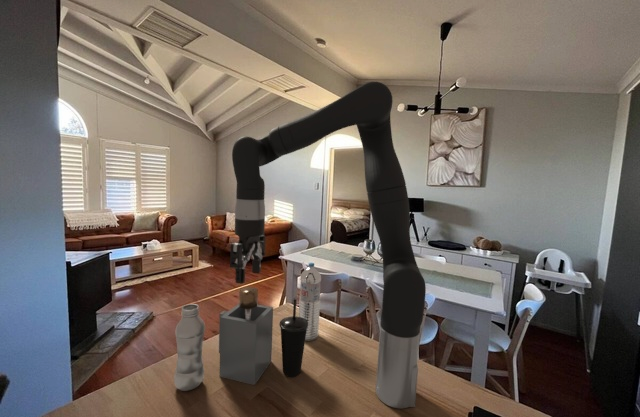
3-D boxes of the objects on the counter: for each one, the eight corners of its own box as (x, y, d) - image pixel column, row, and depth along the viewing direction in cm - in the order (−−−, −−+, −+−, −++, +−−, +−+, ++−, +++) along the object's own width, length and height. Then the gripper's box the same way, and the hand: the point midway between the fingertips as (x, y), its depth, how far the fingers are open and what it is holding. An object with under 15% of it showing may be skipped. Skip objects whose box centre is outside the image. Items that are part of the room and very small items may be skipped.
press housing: (271, 361, 80) (273, 307, 78) (254, 385, 70) (256, 324, 69) (230, 352, 83) (232, 300, 82) (209, 374, 74) (210, 315, 72)
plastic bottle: (175, 379, 71) (176, 303, 69) (204, 374, 73) (205, 300, 72) (172, 397, 65) (172, 314, 63) (203, 391, 67) (204, 311, 66)
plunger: (263, 358, 79) (266, 287, 77) (251, 374, 72) (254, 297, 70) (242, 353, 80) (243, 284, 79) (228, 368, 74) (230, 293, 72)
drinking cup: (301, 383, 72) (305, 308, 70) (273, 377, 73) (276, 304, 71) (308, 364, 79) (312, 296, 77) (283, 360, 81) (285, 292, 79)
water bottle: (295, 332, 96) (298, 260, 94) (314, 330, 98) (318, 260, 96) (300, 343, 90) (303, 266, 87) (320, 340, 92) (324, 265, 89)
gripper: (249, 221, 65) (248, 289, 66) (274, 215, 79) (273, 271, 80) (221, 218, 67) (220, 284, 68) (250, 213, 80) (249, 268, 82)
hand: (248, 277), depth 74 cm, fingers open, 8 cm apart
